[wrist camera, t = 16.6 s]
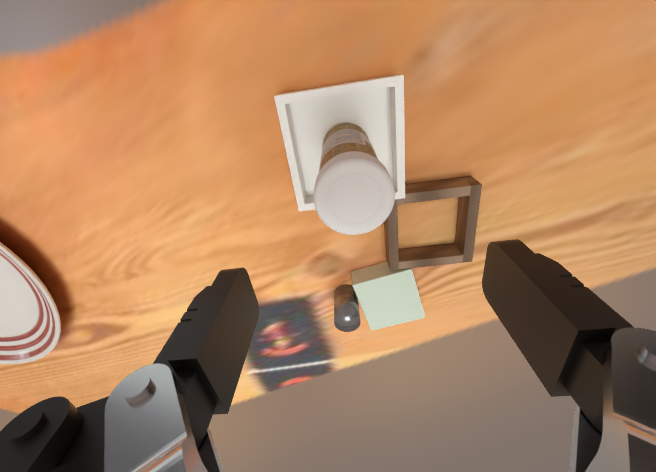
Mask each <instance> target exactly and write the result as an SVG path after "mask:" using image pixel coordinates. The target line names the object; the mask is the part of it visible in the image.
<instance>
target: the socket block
mask: <svg viewBox="0 0 656 472" xmlns="http://www.w3.org/2000/svg"><path fill="white" fill-rule="evenodd" d="M481 187H482V184H481V183H479V182H478V181H477V180H475V179H474V178H473V177H471V176H467V177H460V178H452V179H444V180H437V181H429V182H421V183H414V184H406V185H405V198H402V199H395V202H394V206H393V209H392V211H391V213H390V215H389V216H388V218H387V219H386V220H385V221H384V223H385V242H386V258H387V262H388V265H389V269H390V270H397V269H406V268H416V267H425V266H435V265H444V264H454V263H463V262H472V258H473V250H474V242H475V234H476V226H477V218H478V210H479V203H480V195H481ZM454 197H459V203H458V215H457V226H456V237H455V243H452V244H443V245H434V246H425V247H416V248H407V249H398V222H397V205H398V204H406V203H414V202H422V201H430V200H438V199H446V198H454Z"/></svg>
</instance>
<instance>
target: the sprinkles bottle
mask: <svg viewBox="0 0 656 472" xmlns="http://www.w3.org/2000/svg"><path fill="white" fill-rule="evenodd" d="M394 202H395V189H394V184H393V181H392V179H391V177H390V175H389V173H388V171H387V169H386V168H385V166H384V165H383V164H382V163H381V162H380V161H379V160H378V158H377V156H376V153H375V150H374V148H373V146H372V144H371V143H370V141H369V139H368V136H367V134H366V132H365V131H364V130H363V129H362V128H361V127H359V126H358V125H356V124H353V123H349V122H346V123H340V124H337V125H335V126H334V127H332V128H331V129H330V130H329V131H328V132H327V134H326V135H325V137H324V140H323V145H322V155H321V160H320V167H319V173H318V175H317V178H316V182H315V187H314V205H315V209H316V212H317V214H318V216H319V217H320V219H321V220H322V221H323V222H324V223H325V224H326V225H327V226H328V227H329V228H331V229H333V230H334V231H336V232H339V233H342V234H348V235H358V234H363V233H367V232H370V231H372V230H374V229H376V228H377V227H379V226H380V225H381V224H382V223H383V222H384V221H385V220H386V219H387V218H388V216H389V215H390V213H391V211H392V209H393V206H394Z"/></svg>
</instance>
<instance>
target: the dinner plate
mask: <svg viewBox="0 0 656 472" xmlns="http://www.w3.org/2000/svg"><path fill="white" fill-rule="evenodd" d="M60 333H61V321H60V316H59V312H58V309H57V306H56V304H55V302H54V300H53V298H52V296H51V294H50V293H49V291H48V289H47V288H46V286H45V285H44V284H43V282H42V281H41V280H40V279H39V277H38V276H37V275H36V274H35V273H34V271H33V270H32V269H31V268H30V267H29V266H28V265H27V264H26V263H25V262H24V261H23V260H21V259H20V258H19V257H18V256H17V255H16V254H15V253H13V252H12V251H11V250H10V249H9V248H7V247H6V246H5V245H3V244H2V243H1V242H0V364H20V363H26V362H31V361H34V360H37V359H40V358H42V357H44V356H46V355H47V354H48V353H50V352H51V351H52V350H53V349H54V348H55V346H56V345H57V343H58V341H59V338H60Z"/></svg>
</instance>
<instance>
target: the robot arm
mask: <svg viewBox="0 0 656 472" xmlns="http://www.w3.org/2000/svg"><path fill="white" fill-rule="evenodd" d="M482 287H483V292H484V295H485V297H486V299H487V301H488V302H489V304H490V305H491V307H492V308H493V310H494V312H495V313H496V315H497V316H498V318H499V319H500V320H501V322H502V323H503V325H504V327H505V328H506V329H507V331H508V333H509V334H510V336H511V337H512V339H513V340H514V342H515V343H516V345H517V346H518V348H519V349H520V350H521V352H522V354H523V355H524V357H525V358H526V360H527V361H528V363H529V364H530V366H531V367H532V369H533V370H534V372H535V373H536V375H537V376H538V378H539V379H540V381H541V382H542V384H543V385H544V387H545V388H546V390H547V391H548V393H549V394H550V395H551V396H572V398H573V399H574V400H575V402H576V403H577V404H578V405H577V407H576V409H575V413H574V424H573V437H572V451H571V462H570V472H656V331H653V330H650V329H644V328H634V327H633V326H632V325H631V324H629V323H628V322H627V321H626V320H625V319H624V318H622V317H621V316H620V315H619V314H618V313H617V312H615V311H614V310H613V309H612V308H610V306H608V305H607V304H606V303H605V302H604V301H603V300H601V299H600V298H599V297H598V296H597V295H596V294H594V293H593V292H592V291H591V290H590V289H588V288H587V287H584V284H583V283H581V282H580V281H579V280H578V279H577V278H576V277H572V274H571V273H570V272H569V271H567V270H566V269H565V268H564V267H563V266H562V265H560V264H559V263H558V262H556V261H554V260H552V259H550V258H548V257H546V256H544V255H542V254H539V253H538V254H535V253H534V252H532V251H531V250H530V249H529V248H528V247H527V246H526V245H525V244H524V243H523V242H521V241H520V240H517V239H516V240H506V241H497V242H491V243H490V244H489V245H488V248H487V254H486V260H485V267H484V273H483V279H482ZM258 315H259V306H258V301H257V298H256V295H255V293H254V290H253V287H252V284H251V281H250V278H249V276H248V273H247V271H246V269H245V268H236V269H227V270H221V271H220V272H219V274H218V275H217V277H216V279H215V280H214V282H213V284H212V286H207V287H206V288H205V289H203V290H202V291H201V292H200V293H199V294H198V295H197V296H196V297H195V298H194V299H193V301H192V302H191V304H190V306H189V307H188V309H187V312H185V314H184V315H183V317H182V318H181V322H180V323H178V325H177V326H176V328H175V329H174V331H173V333H172V334H171V336H170V337H169V339H168V341H167V342H166V344H165V345H164V347H163V348H162V350H161V352H160V353H159V355H158V356H157V358H156V360H155V361H154V363H153V364H151V365H147V366H144V367H142V368H140V369H138V370H136V371H134V372H133V373H131V374H130V375H128V376H127V377H126V378H125V379H123V380H122V381H121V382H120V383H119V384H118V385H117V386H116V388H115V389H114V390H113V391H112V393H111V394H110V396H108V397H105V398H103V399H100V400H97V401H94V402H91V403H89V404H86V405H83V406H80V407H77V408H76V407H75V406H74V405H73V404H72V403H71V402H70V401H69V400H68V399H66V398H65V397H52V398H49V399H46V400H43V401H41V402H39V403H37V404H35V405H33V406H31V407H30V408H28V409H26V410H25V411H23V412H22V413H21V414H19V415H18V416H17V417H15V418H14V419H13V420H12V421H11V422H10V423H8V424H7V425H6V426H5V427H4V428H3V429H2V430H1V431H0V472H223V468H222V465H221V462H220V459H219V456H218V453H217V450H216V447H215V443H214V440H213V437H212V434H211V431H210V429H209V428H208V426H209V423H210V421H211V418H212V415H213V414H228V412H229V408H230V405H231V402H232V399H233V396H234V393H235V390H236V387H237V383H238V380H239V377H240V374H241V371H242V368H243V364H244V361H245V358H246V355H247V352H248V349H249V346H250V342H251V339H252V336H253V333H254V330H255V327H256V323H257V320H258Z"/></svg>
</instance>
